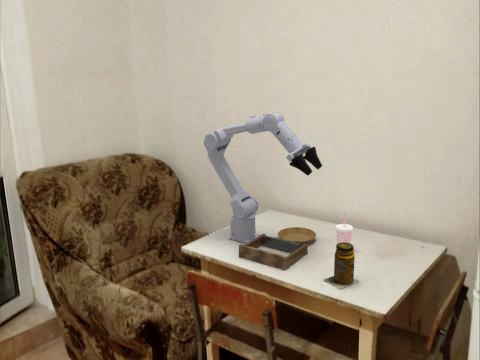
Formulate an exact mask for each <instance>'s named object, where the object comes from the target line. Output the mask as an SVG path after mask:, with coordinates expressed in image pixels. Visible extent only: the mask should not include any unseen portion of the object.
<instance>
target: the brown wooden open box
mask: <svg viewBox="0 0 480 360" xmlns="http://www.w3.org/2000/svg"><path fill="white" fill-rule="evenodd" d="M262 235H266V236H267V234H266V233H261V234H260V235H259V236H258V237H256V238H255V239H253V240H251V241H249V242H248V243H245V244H242V243H240V244H238V258H240V259H241V258H242V259H245V260H248V261H251V262H255V263H258V264H263V265H265V266H270V267H273V268H275V269H276V268H277V269H279V270H280V269H281V270H283V271H286V270H287V269H289V268H290V267H292V266H293V265H294V264H295V263H297V262H298V261H299V260H301V259H302V258H303V257H305V256H306V255H307V254H308V253H309V252H308V251H309V250H308V247H309V243H308V244H303V245H301V247H299V248H298V249H296V250H295V251H294V252H292V253H289V254H288V255H285V254H284V255H283V254H279V253H275V252H272V251H269V250H268V251H267V250H263V249H260V247H261V246H262Z"/></svg>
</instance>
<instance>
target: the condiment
mask: <svg viewBox="0 0 480 360" xmlns="http://www.w3.org/2000/svg"><path fill="white" fill-rule="evenodd" d="M335 247H336V248H335V252H334V263H333V265H334V266H333V271H334V272H333V275H332V276H330V277H327V278H324V279H323V281H324V282H327V283H328V284H330V285H332V287H335V288H336V289H339V290H342V289H345V288H347V287H349V286H352V285H355V284H357V283H359V282H360V280H358V279H356V278H354V277H355V255H356V254H355V252H354V251H355V250H354V249H355V248H354V245H353V244H352V243H351V244H350V243H346V242H342V243H338V244H337V243H336V246H335Z"/></svg>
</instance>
